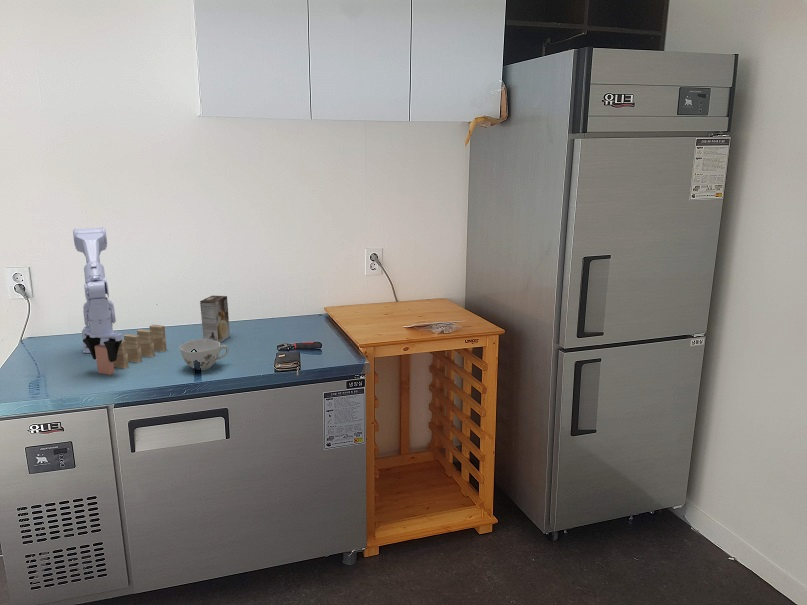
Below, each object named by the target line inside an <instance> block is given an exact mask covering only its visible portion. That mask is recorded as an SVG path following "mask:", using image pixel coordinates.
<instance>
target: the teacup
mask: <svg viewBox="0 0 807 605" xmlns="http://www.w3.org/2000/svg"><path fill="white" fill-rule="evenodd" d="M228 347H229V346H228V345H227V344H226V345H225V344H222V345H221V343H219V342H217V341H215V340H212V339H203V338H198V339H192V340H189V341H186V342H184V343H182V344H180V346H179V350H180V353H181V356H182V358H183V360H184V362H185V363H186V364H187V365H188V366H189V367H190V368H192V369H193V361H195V360H197V361H198V362H200V368H201V370H203V371H206V370H209V369H211V367H212V366H214V364H215V363H216V362H217V361H218V360H221V359H223V358H225V357H227V354H229V348H228ZM193 349H195V350H196V351H197V352H191V351H192V350H193ZM223 349H225V353H224V354H222V355H220V353H221V351H222V350H223ZM219 355H220V356H219Z"/></svg>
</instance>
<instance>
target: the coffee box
mask: <svg viewBox="0 0 807 605" xmlns="http://www.w3.org/2000/svg"><path fill="white" fill-rule="evenodd" d="M199 304H200V305H199V306H200V316H201V327H202V328H201V330H202V339H212V340H215V341H217V342H219V343H220V344H221V343H223V342H224V341H225V340H227V339H229V338H230V337H231V332H230V330H231V329H230V319H229V318H230V317H229V307H228V306H229V303H228V296H226V295H211V296H209V297H205V298H204V299H202V300H200V301H199Z"/></svg>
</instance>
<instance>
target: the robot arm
mask: <svg viewBox="0 0 807 605" xmlns="http://www.w3.org/2000/svg"><path fill="white" fill-rule="evenodd" d="M72 236H73V242H74V247H75V250H76V251H77V252H78V253H83V255H84V257H85V260H86V262H85V263H86V264H85V265H84V267H83V273H84V281H85V283H84V284H83V288H84V296H85V300H86V302H84V304H83V311H82V312H83V320H84V325H85V326H84V327H83V329H82V330H81V337H82V338H81V339H82V346H83V351H82V353H83V354H90V355H91V357H92V359H93V360H96V354H95V346H96V345H105V346H106V349H107V351H108V356H109V360H110V362H113V361H116V360H117V354H118V349H119V346H120V344H121V342H122V340H124V337H123V333H120V332H117V331H114V330H113V326H114V324H115V323H116V322H117V320H116V312H115V307H114V302H113V301H112V300H111V299H109V297H110V292H109V285H108V281H107V278H106V276H105V274H106V273H105V267H104V265H103V264H102V263H101V260H100V255H101V252H103V251H106V250H107V247H108V239H107V237H108V236H107V230H106V228H105V227H104V226H103V227H91V228H89V227H87V228H73V229H72Z"/></svg>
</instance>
